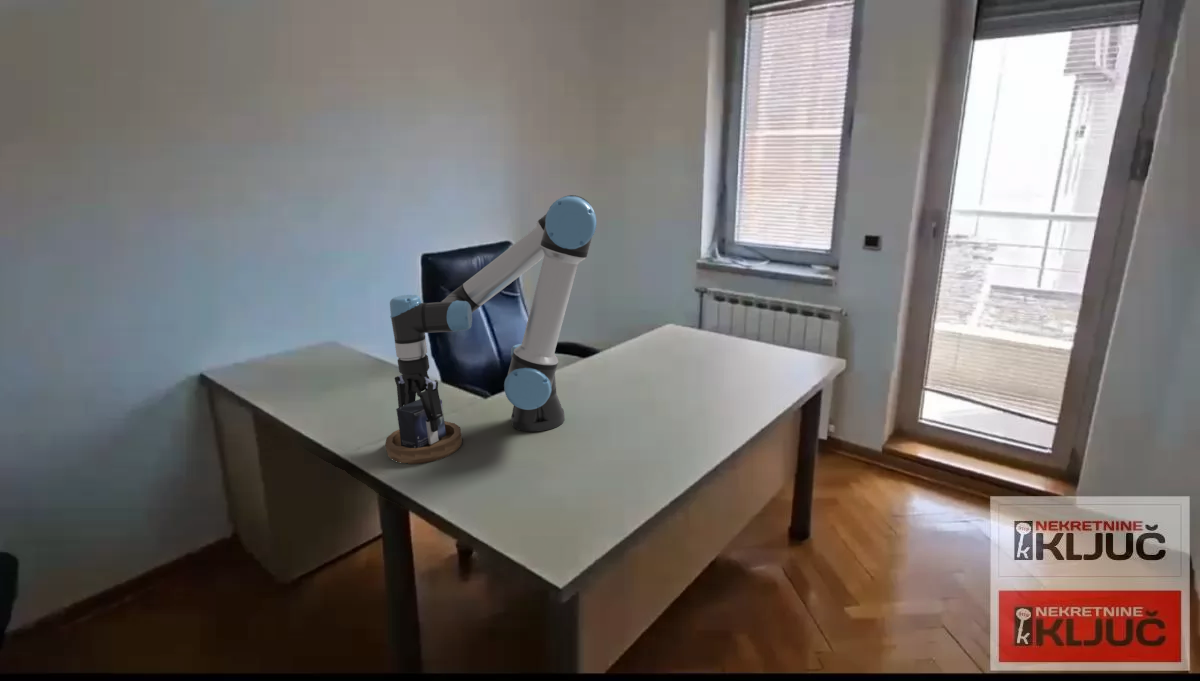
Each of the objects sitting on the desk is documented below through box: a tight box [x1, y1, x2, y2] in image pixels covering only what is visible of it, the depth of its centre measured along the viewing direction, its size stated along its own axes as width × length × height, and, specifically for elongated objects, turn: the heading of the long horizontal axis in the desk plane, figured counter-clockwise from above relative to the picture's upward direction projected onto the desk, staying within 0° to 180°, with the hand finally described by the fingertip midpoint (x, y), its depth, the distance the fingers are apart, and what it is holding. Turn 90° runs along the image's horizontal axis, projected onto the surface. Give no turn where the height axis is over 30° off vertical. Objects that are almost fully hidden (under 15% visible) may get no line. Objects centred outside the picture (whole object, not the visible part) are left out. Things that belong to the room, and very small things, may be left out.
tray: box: [384, 420, 463, 465], centre depth 163 cm, size 19×19×4 cm
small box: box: [395, 398, 446, 448], centre depth 162 cm, size 11×6×10 cm, turn 148°
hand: (424, 439), depth 163 cm, fingers closed on small box, 6 cm apart
